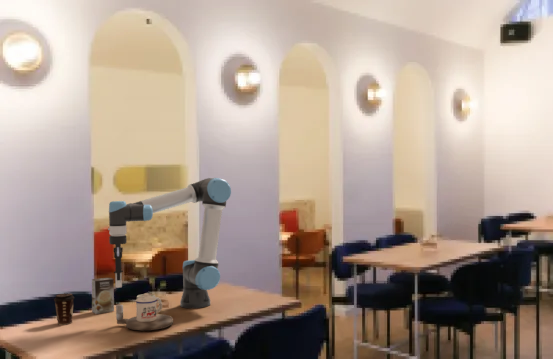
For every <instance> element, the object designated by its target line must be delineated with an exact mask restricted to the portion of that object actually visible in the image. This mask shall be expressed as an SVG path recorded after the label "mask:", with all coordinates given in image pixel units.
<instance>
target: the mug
mask: <svg viewBox="0 0 553 359" xmlns="http://www.w3.org/2000/svg"><path fill="white" fill-rule="evenodd" d="M148 295H150V296H152V297H155V298H156V299H157V301H159V302H161V303H162V304H163V302H162V300H161V298H160V297H157V296H156V294H153V293H148ZM142 296H144V293H143V294H138V295H137V296H136V299H138V298H140V297H142ZM158 304H159V305H158V307H157V308H156V310H157V311H158V310H159V309H160V303H158Z"/></svg>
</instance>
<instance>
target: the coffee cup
mask: <svg viewBox="0 0 553 359" xmlns="http://www.w3.org/2000/svg"><path fill="white" fill-rule="evenodd" d="M74 299H75V296H74V295H73V293H67V292H66V293H65V292H64V293H58V294H56V295H55V298H54V299H53V301H54V306H55V312H56V320H57V325H58V324H59V326H63V325H69V324H72V323H73V316H74V315H73V314H74V313H73V312H74Z"/></svg>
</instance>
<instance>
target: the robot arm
mask: <svg viewBox="0 0 553 359" xmlns="http://www.w3.org/2000/svg"><path fill="white" fill-rule="evenodd" d="M231 195H232V187H231V185H230V184H229V183H228V181H227V180H226V179H222V178H220V177H213V178H211V177H208V178H204V179H201V180H199V181H196V182H194V183H191V184H188V186H187V187H184V188H181V189H177V190H173V191H170V192H167V193H163V194H161V195H156V196H153V197H150V198H146V199H143V200H140V201H135V202H133V203H131V202H130V203H127V202H126V201H125V200H119V201H117V200H115V201H114V200H113V201H110V202H109V203H108V204H109V205H108V219H109V220H108V222H109V224H108V226H109V227H108V228H107V230H108V231H109V233H108V234H109V237H108V238H109V239H108V241H109V244H110V245H115V246H114V247H113V254H114V255H113V256H114V258H115V263H114V264H115V270H114V272H113V274H115V275H114V276H115V288H116V289H117V288H122V287H123V282H122V278H123V276H122V275H123V274H122V273H123V272H124V270H122V258H123V250H124V249H123V247H122V246H121V245H125V244H127V243H128V242H127V232H128V231H127V229H128V228H127V222H129V223H130V222H147V221H151V220H152V219H153V215H154V214H156V213H158V212H161V211H165V210H169V209H172V208H175V207H179V206H181V205H185V204H189V203H193V204H197V203H199V202H202V203H201V205H202V206H203V208H204V211H203V219H202V227H201V235H200V241H199V242H200V243H199V249H198V250H199V251H198V256H197V257H196V258H195V259H190V260H184V261H183V263H182V280H183V281H182V282H183V285H182V286H183V290H182V295H181V298H180V307H181V308H183V309H201V308H207V307H210V306H211V298H210V295H209V292H208V291H209V290H210V291H211V290H214V288H216V287H217V286H218V284H219V283H220V281H221V272H220V271H219V261H218V260H217V253H218V246H219V245H218V244H219V238H220V229H221V221H222V215H223V210H224V209H225V208H226V206H227V202H228V200H229V199H230V197H231ZM206 306H207V307H206Z"/></svg>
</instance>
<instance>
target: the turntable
mask: <svg viewBox="0 0 553 359" xmlns="http://www.w3.org/2000/svg"><path fill="white" fill-rule="evenodd" d="M115 312H116V313H115V314H116V316H115V317H116V325H125V327H126V328H127V329H128V330H134V331H140V330H151V331H156V330H155V329H158V330H161V329H164V328H168V327H170V326H172V325H173V322H174V319H173V317H172V316H171V315H167V314H160V313H157V319H156V320H154V321H151V322H139V321H137V315H136V316H133V317H129V318H124V305H123V304H116V305H115Z"/></svg>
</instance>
